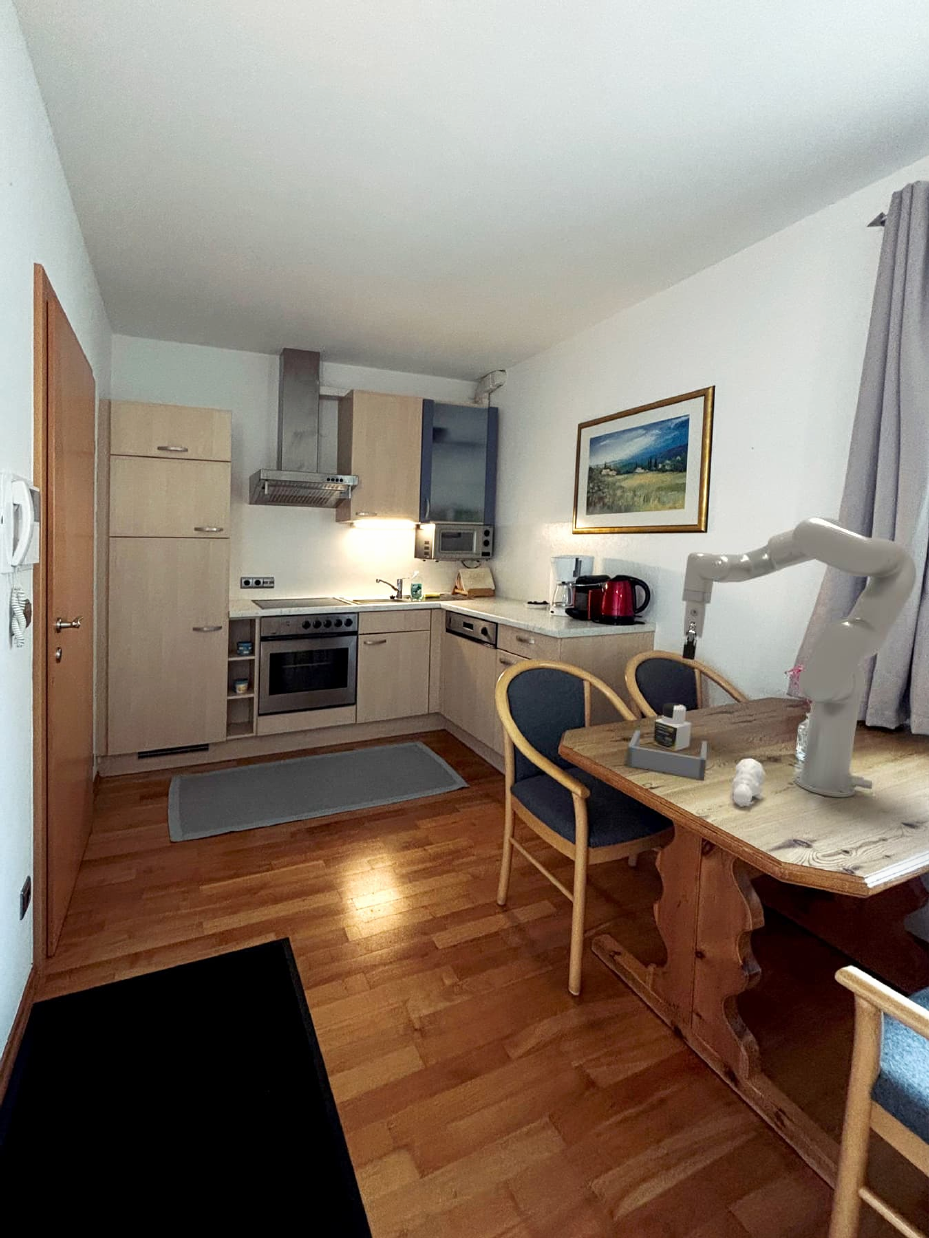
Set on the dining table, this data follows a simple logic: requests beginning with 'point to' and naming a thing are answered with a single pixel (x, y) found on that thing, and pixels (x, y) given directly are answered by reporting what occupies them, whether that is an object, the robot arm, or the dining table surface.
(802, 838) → the dining table surface
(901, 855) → the dining table surface
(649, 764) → the box
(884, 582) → the robot arm
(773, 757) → the dining table surface
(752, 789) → the white animal figurine
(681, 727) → the medicine bottle
